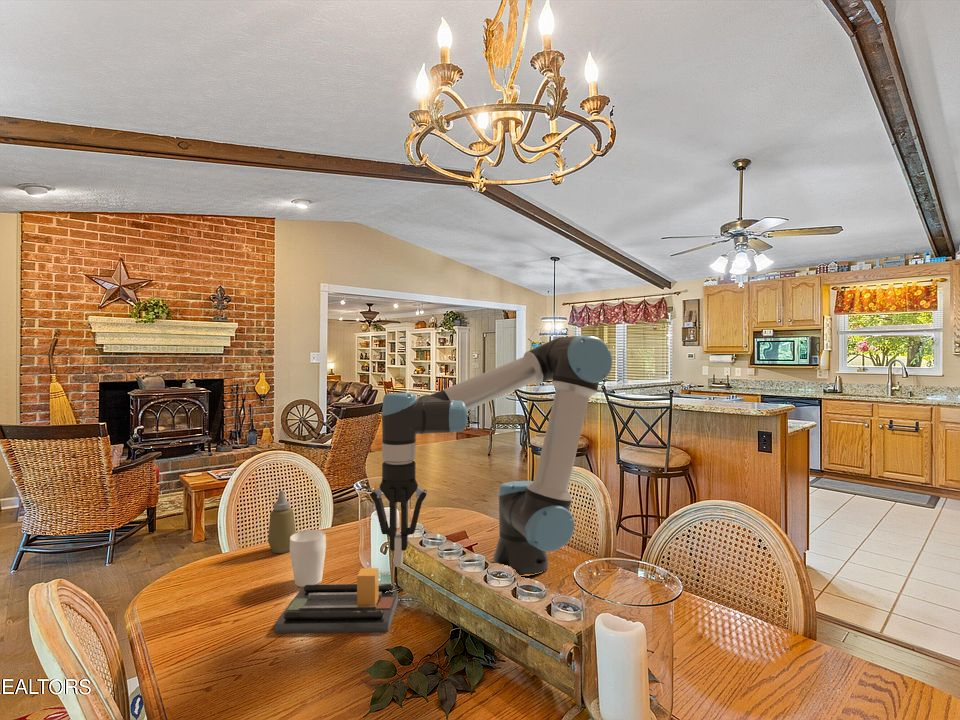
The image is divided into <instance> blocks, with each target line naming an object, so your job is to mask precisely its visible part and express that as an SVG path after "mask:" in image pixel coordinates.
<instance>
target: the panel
mask: <svg viewBox="0 0 960 720" xmlns="http://www.w3.org/2000/svg"><path fill="white" fill-rule="evenodd" d="M394 587H395V586H394V584H393V583H379V599H378V601H377V604H376V605H357V583H349V584H348V583H345V584H344V583H337V584H333V583H331V584H316V585H305V586H304V587H300V589H299V591H298V593H296V595H295V596H294V598H293V599H292V601H291V602H290V603H289V604H288V606H287V607H285V608H286V609H285V610H283V612H282V614H281V615H280V616H279V618H278V619H277V621H276V622H275V623H274V634H318V633H319V634H321V633H323V634H324V633H325V634H326V633H327V634H329V633H331V634H332V633H338V634H339V633H387V632H390V631H389V630H390V627H391V624H392V621H393V618H394V615H395V612H396V609H397V605H398V602H399V600H398V592H399V591H393V592H389V593H385V592H386V591H389V590H393V588H394Z"/></svg>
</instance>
